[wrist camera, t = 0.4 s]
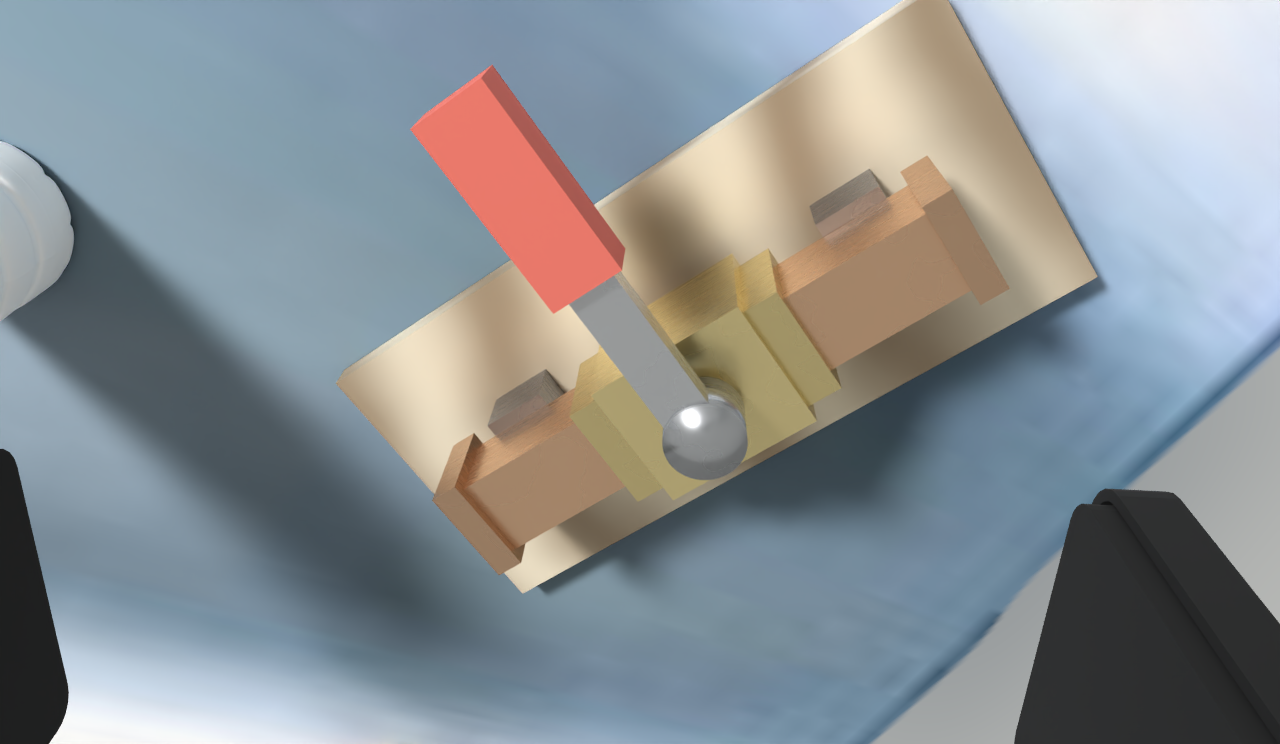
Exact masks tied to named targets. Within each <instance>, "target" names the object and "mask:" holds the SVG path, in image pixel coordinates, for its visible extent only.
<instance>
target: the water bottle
mask: <svg viewBox="0 0 1280 744" xmlns="http://www.w3.org/2000/svg"><path fill="white" fill-rule="evenodd" d="M70 222H71V215H70V211H69V208H68V205H67V203H66V201H65V198H64V196H63V195H62V193H61V191H60V189H59V188H58V186H57V185H56V183H55V182H54V181H53V180H52V179H51V178H50V177H48V176H46V175H45V174H44V171H43V169H42V167H41V166H40V165H39V164H38V163H37V162H36V161H35V160H33V159H32V158H31V157H30V156H28V155H27V154H25V153H24V152H22V151H21V150H19V149H18V148H16V147H14V146H12V145H10V144H8V143H6V142H2V141H0V321H2V320H3V319H5V318H6V317H7V316H8V315H10V314H11V313H12V312H13V311H14V310H16V309H18V308H20V307H22V306H23V305H25V304H26V303H28V302H29V301H31V300H32V299H34V298H35V297H36V296H38V295H39V294H40V293H42V292H43V291H45V290H46V289H47V288H49V287H50V286H51V285H52V284H54V283H55V282H56V281H57V280H58V279H59V277H60V276H61V275H62V272H63V271H64V269H65V268H66V266H67V265H68V263H69V261H70V258H71V255H72V250H73V244H74V231H73V228H72V226H71V225H70Z"/></svg>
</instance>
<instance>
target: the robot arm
mask: <svg viewBox="0 0 1280 744" xmlns="http://www.w3.org/2000/svg"><path fill="white" fill-rule="evenodd" d="M68 694H69V692H68V683H67V679H66V675H65V670H64V666H63V662H62V657H61V653H60V649H59V645H58V640H57V636H56V632H55V627H54V623H53V619H52V614H51V610H50V606H49V602H48V597H47V593H46V589H45V584H44V580H43V576H42V571H41V567H40V563H39V558H38V554H37V550H36V546H35V541H34V537H33V533H32V528H31V524H30V520H29V515H28V511H27V507H26V503H25V498H24V494H23V490H22V485H21V481H20V477H19V472H18V468H17V465H16V462H15V459H14V457H13V456H12V455H11V454H10V452H8V451H6V450H4V449H0V744H49V743H50V741H51V740H52V738H53V737H54V735H55V734H56V732H57V731H58V729H59V727H60V726H61V724H62V722H63V719H64V716H65V713H66V709H67V705H68ZM1014 744H1280V624H1279V622H1278V621H1277V620H1276V619H1275V617H1274V616H1273V615H1272V614H1271V613H1270V611H1269V610H1268V609H1267V607H1266V606H1265V605H1264V604H1263V602H1262V601H1261V600H1260V599H1259V598H1258V596H1257V595H1256V594H1255V592H1254V591H1253V590H1252V589H1251V587H1250V586H1249V585H1248V584H1247V582H1246V581H1245V580H1244V579H1243V577H1242V576H1241V575H1240V574H1239V572H1238V571H1237V570H1236V569H1235V567H1234V566H1233V565H1232V563H1231V562H1230V561H1229V560H1228V558H1227V557H1226V556H1225V555H1224V553H1223V552H1222V551H1221V550H1220V548H1219V547H1218V546H1217V545H1216V543H1215V542H1214V541H1213V540H1212V538H1211V537H1210V536H1209V535H1208V533H1207V532H1206V531H1205V530H1204V528H1203V527H1202V526H1201V525H1200V523H1199V522H1198V521H1197V519H1196V518H1195V517H1194V516H1193V515H1192V513H1191V512H1190V511H1189V509H1188V508H1187V507H1186V506H1185V504H1184V503H1183V502H1182V501H1181V499H1179V498H1178V497H1177V496H1176V495H1175V494H1174V493H1170V492H1160V491H1141V490H1140V491H1139V490H1122V489H1104V490H1102V491H1100V492H1099V493H1098V494H1097V496H1096V497H1095V499H1094V500H1093V503H1092V504H1081V505H1079V506H1077V507H1076V509H1075V510H1074V512H1073V514H1072V517H1071V520H1070V524H1069V528H1068V532H1067V536H1066V539H1065V543H1064V547H1063V551H1062V555H1061V559H1060V563H1059V567H1058V571H1057V574H1056V578H1055V582H1054V586H1053V590H1052V594H1051V598H1050V602H1049V606H1048V609H1047V613H1046V617H1045V621H1044V625H1043V629H1042V633H1041V637H1040V641H1039V645H1038V648H1037V652H1036V657H1035V660H1034V664H1033V668H1032V672H1031V676H1030V679H1029V683H1028V687H1027V691H1026V695H1025V699H1024V703H1023V707H1022V711H1021V714H1020V718H1019V722H1018V726H1017V730H1016V735H1015V742H1014Z"/></svg>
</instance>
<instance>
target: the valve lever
mask: <svg viewBox="0 0 1280 744" xmlns="http://www.w3.org/2000/svg"><path fill="white" fill-rule="evenodd" d="M410 130H411V131H412V132H413V133H414V135H415V136H416V137H417V139H418V140H419V141H420V142H421V144H422V145H423V146H424V148H425V149H426V150H427V152H428V153H429V154H430V155H431V157H432V158H433V159H434V161H435V162H436V163H437V164H438V166H439V167H440V168H441V170H442V171H443V172H444V173H445V175H446V176H447V177H448V179H449V180H450V181H451V183H452V184H453V185H454V186H455V188H456V189H457V190H458V192H459V193H460V194H461V195H462V197H463V198H464V199H465V201H466V202H467V203H468V204H469V206H470V207H471V208H472V210H473V211H474V212H475V214H476V215H477V216H478V217H479V219H480V220H481V221H482V223H483V224H484V225H485V226H486V228H487V229H488V230H489V232H490V233H491V234H492V235H493V237H494V238H495V239H496V241H497V242H498V243H499V245H500V246H501V247H502V248H503V250H504V251H505V252H506V254H507V255H508V256H509V257H510V259H511V260H512V261H513V263H514V264H515V265H516V266H517V268H518V269H519V270H520V272H521V273H522V274H523V276H524V277H525V278H526V279H527V281H528V282H529V283H530V285H531V286H532V287H533V288H534V290H535V291H536V292H537V294H538V295H539V296H540V297H541V299H542V300H543V301H544V303H545V304H546V305H547V307H548V308H549V309H550V310H551V312H552V313H553V314H554V313H556V312H557V311H559V310H561V309H562V308H564V307H565V306H567V305H568V304H569V305H570V307H571V308H572V309H573V310H574V312H575V313H576V314H577V316H578V317H579V318H580V320H581V321H582V322H583V324H584V325H585V326H586V327H587V329H588V330H589V331H590V333H591V334H592V335H593V337H594V338H595V339H596V341H597V342H598V343H599V344H600V346H601V347H602V348H603V350H604V351H605V352H606V354H607V355H608V356H609V358H610V359H611V360H612V361H613V363H614V364H615V365H616V367H617V368H618V369H619V371H620V372H621V373H622V375H623V376H624V377H625V378H626V380H627V381H628V382H629V384H630V385H631V386H632V388H633V389H634V390H635V392H636V393H637V394H638V395H639V397H640V398H641V399H642V401H643V402H644V403H645V405H646V406H647V407H648V409H649V410H650V411H651V412H652V414H653V415H654V416H655V418H656V419H657V420H658V422H659V423H660V424H661V426H662V427H663V437H662V447H663V452H664V455H665V457H666V459H667V461H668V462H669V464H670V465H671V466H672V467H673V468H674V469H675V470H676V471H677V472H679V473H680V474H682V475H684V476H686V477H689V478H692V479H697V480H713V479H717V478H721V477H723V476H725V475H728V474H729V473H731V472H732V471H734V470H735V469H736V468H737V467H738V466H739V465H740V464H741V462H742V461H743V459H744V457H745V455H746V452H747V447H748V439H747V429H746V419H745V409H744V403H743V400H742V398H741V396H740V395H739V393H738V392H737V390H736V389H735V388H734V387H733V386H731V385H730V384H729V383H727V382H725V381H723V380H721V379H718V378H714V377H708V376H701V377H698V376H697V374H696V373H695V372H694V370H693V369H692V368H691V366H690V365H689V363H688V362H687V361H686V359H685V358H684V357H683V355H682V354H681V353H680V351H679V350H678V348H677V347H676V346H675V344H674V343H673V342H672V340H671V339H670V338H669V336H668V335H667V333H666V332H665V331H664V329H663V328H662V327H661V325H660V324H659V323H658V321H657V320H656V318H655V317H654V316H653V314H652V313H651V312H650V310H649V309H648V308H647V306H646V305H645V303H644V302H643V301H642V299H641V298H640V297H639V295H638V294H637V293H636V291H635V290H634V288H633V287H632V286H631V284H630V283H629V282H628V280H627V279H626V278H625V276H624V275H623V273H622V272H621V271H622V267H623V261H624V254H625V247H624V246H623V245H622V243H621V242H620V240H619V239H618V238H617V236H616V235H615V233H614V232H613V231H612V229H611V228H610V227H609V225H608V224H607V222H606V221H605V220H604V218H603V217H602V216H601V214H600V213H599V211H598V210H597V209H596V207H595V206H594V205H593V203H592V202H591V200H590V199H589V198H588V196H587V195H586V193H585V192H584V191H583V189H582V188H581V187H580V185H579V184H578V182H577V181H576V180H575V178H574V177H573V176H572V174H571V173H570V171H569V170H568V169H567V167H566V166H565V165H564V163H563V162H562V160H561V159H560V158H559V156H558V155H557V153H556V152H555V151H554V149H553V148H552V147H551V145H550V144H549V142H548V141H547V140H546V138H545V137H544V136H543V134H542V133H541V131H540V130H539V129H538V127H537V126H536V125H535V123H534V122H533V120H532V119H531V118H530V116H529V115H528V113H527V112H526V111H525V109H524V108H523V107H522V105H521V104H520V102H519V101H518V100H517V98H516V97H515V96H514V94H513V93H512V91H511V90H510V89H509V87H508V86H507V84H506V83H505V82H504V80H503V79H502V78H501V76H500V75H499V73H498V72H497V71H496V69H495V68H494V67H493V65H491V66H490V67H488V68H487V69H486V70H484V71H483V72H482V73H480V74H479V75H477V76H476V77H475V78H473V79H472V80H471V81H469V82H468V83H466V84H465V85H464V86H462V87H461V88H460V89H458V90H457V91H456V92H454V93H453V94H451V95H450V96H449V97H447V98H446V99H445V100H443V101H442V102H440V103H439V104H438V105H436V106H435V107H434V108H432V109H431V110H430V111H428V112H427V113H425V114H424V115H423V116H422V117H421V119H420V120H419V121H418V122H417V123H416V124H415V125H414V126H413V127H412V128H411V129H410Z"/></svg>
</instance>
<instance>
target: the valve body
mask: <svg viewBox="0 0 1280 744" xmlns="http://www.w3.org/2000/svg"><path fill="white" fill-rule="evenodd" d="M900 173H901V174H902V176H903V178H904V179H905V181H906V183H907V184H908V186H906V187H904V188H903V189H901V190H899V191H898V192H896V193H894V194H893V195H891V196H889V197H888V198H887V197H886V195H885V193H884V192H883V190H882V188H881V187H880V185H879V183H878V182H877V180H876V179H875V177H874V175H873V174H872V172H871V170H870V169H868V170H866V171H865V172H863V173H861V174H860V175H858V176H857V177H855V178H853V179H852V180H850V181H849V182H847V183H845V184H844V185H842V186H840V187H839V188H837V189H836V190H834V191H832V192H831V193H829V194H828V195H826V196H824V197H823V198H821V199H819V200H818V201H816V202H815V203H813V204H811V205H810V206H809V207H810V210H811V213H812V216H813V219H814V222H815V225H816V227H817V228H818V230H819V231H820V233H821V234H822V236H823V237H822V238H820V239H819V240H817V241H815V242H814V243H812V244H810V245H809V246H807V247H805V248H804V249H802V250H801V251H799V252H797V253H796V254H794V255H792V256H791V257H789V258H787V259H786V260H784V261H782V262H781V263H778V262H777V260H776V259H775V257H774V256H773V254H772V253H771V251H770V250H769V248H768V249H766V250H765V251H763V252H761V253H760V254H758V255H756V256H755V257H753V258H752V259H750V260H748V261H747V262H745V263H743V264H742V265H740V264H739V263H738V261H737V260H736V258H735V257H734V255H733V254H730V255H729V256H727V257H725V258H724V259H722V260H721V261H719V262H717V263H716V264H714V265H712V266H711V267H709V268H708V269H706V270H704V271H703V272H701V273H700V274H698V275H696V276H695V277H693V278H691V279H690V280H688V281H687V282H685V283H683V284H682V285H680V286H679V287H677V288H675V289H674V290H672V291H670V292H669V293H667V294H666V295H664V296H662V297H661V298H659V299H658V300H656V301H654V302H653V303H651V304H649V305H648V306H647V308H648V309H649V310H650V312H651V313H652V314H653V316H654V317H655V318H656V320H657V321H658V323H659V324H660V325H661V327H662V328H663V329H664V331H665V332H666V333H667V335H668V336H669V338H670V339H671V340H672V342H673V343H674V344H675V346H676V347H677V348H678V350H679V351H680V353H681V354H682V355H683V357H684V358H685V359H686V361H687V362H688V363H689V365H690V366H691V368H692V369H693V370H694V372H695V373H696V374H697V376H698V377H701V376H708V377H714V378H718V379H721V380H723V381H725V382H727V383H729V384H730V385H731V386H733V387H734V388H735V389H736V390H737V392H738V393H739V395H740V396H741V398H742V400H743V403H744V409H745V419H746V429H747V439H748V447H747V452H746V455H745V457H744V459H743V461H742V462H744V461H745V460H747V459H749V458H751V457H753V456H755V455H756V454H758V453H760V452H762V451H764V450H765V449H767V448H769V447H771V446H773V445H774V444H776V443H778V442H780V441H782V440H783V439H785V438H787V437H789V436H791V435H792V434H794V433H796V432H798V431H800V430H801V429H803V428H805V427H807V426H809V425H810V424H812V423H814V422H816V421H817V419H816V414H815V409H814V405H813V404H814V403H816V402H817V401H819V400H821V399H823V398H825V397H826V396H828V395H830V394H832V393H834V392H835V391H837V390H839V389H841V388H842V387H841V384H840V380H839V377H838V373H837V369H836V367H837V366H839V365H841V364H843V363H844V362H846V361H848V360H850V359H851V358H853V357H855V356H857V355H859V354H860V353H862V352H864V351H866V350H867V349H869V348H871V347H873V346H874V345H876V344H878V343H880V342H881V341H883V340H885V339H887V338H889V337H890V336H892V335H894V334H896V333H897V332H899V331H901V330H903V329H904V328H906V327H908V326H910V325H911V324H913V323H915V322H917V321H919V320H920V319H922V318H924V317H926V316H927V315H929V314H931V313H933V312H934V311H936V310H938V309H940V308H941V307H943V306H945V305H947V304H949V303H950V302H952V301H954V300H956V299H957V298H959V297H961V296H963V295H964V294H966V293H968V292H970V291H972V292H973V294H974V296H975V297H976V299H977V300H978V302H979V304H980V305H982V304H984V303H985V302H987V301H989V300H991V299H993V298H994V297H996V296H998V295H1000V294H1001V293H1003V292H1005V291H1007V290H1009V289H1010V288H1009V286H1008V284H1007V282H1006V281H1005V279H1004V277H1003V275H1002V274H1001V272H1000V270H999V269H998V267H997V265H996V263H995V262H994V260H993V258H992V257H991V255H990V253H989V251H988V250H987V248H986V246H985V244H984V243H983V241H982V239H981V238H980V236H979V234H978V232H977V231H976V229H975V227H974V225H973V224H972V222H971V220H970V219H969V217H968V215H967V213H966V212H965V210H964V208H963V206H962V205H961V203H960V201H959V200H958V198H957V196H956V194H955V193H954V191H953V189H952V188H951V187H950V185H949V184H948V182H947V181H946V180H945V178H944V177H943V176H942V174H941V173H940V172H939V170H938V169H937V168H936V166H935V165H934V164H933V162H932V161H931V160H930V158H929V157H928V156H925V157H924V158H922V159H920V160H919V161H917V162H915V163H914V164H912V165H910V166H909V167H907V168H906V169H904V170H902V171H901V172H900ZM487 426H488V427H489V428H490V430H491V431H492V432H493V433H494V434H495V436H494V437H493V438H491V439H489V440H488V441H486V442H484V443H482V442H481V440H480V439H479V438H478V437H477V436H476V435H475V433H473V434H471V435H470V436H468V437H466V438H465V439H463V440H462V441H460V442H458V443H457V444H455V445H453V448H452V451H451V453H450V456H449V458H448V461H447V464H446V466H445V469H444V471H443V474H442V477H441V479H440V482H439V484H438V487H437V489H436V492H435V495H434V497H433V500H432V501H433V502H434V503H435V504H436V505H437V506H438V507H439V509H440V510H441V511H442V512H443V513H444V514H445V515H446V516H447V517H448V519H449V520H450V521H451V522H452V523H453V524H454V525H455V526H456V528H457V529H458V530H459V531H460V532H461V533H462V534H463V535H464V537H465V538H466V539H467V540H468V541H469V542H470V543H471V544H472V545H473V547H474V548H475V549H476V550H477V551H478V552H479V553H480V554H481V556H482V557H483V558H484V559H485V560H486V561H487V562H488V563H489V565H490V566H491V567H492V568H493V569H494V570H495V571H496V572H497V574H498V575H501V574H502V573H504V572H506V571H508V570H509V569H511V568H513V567H515V566H517V565H518V564H520V563H521V561H522V557H523V553H524V548H525V544H526V543H527V542H528V541H530V540H532V539H534V538H536V537H537V536H539V535H541V534H543V533H544V532H546V531H548V530H550V529H551V528H553V527H555V526H557V525H558V524H560V523H562V522H564V521H566V520H567V519H569V518H571V517H573V516H574V515H576V514H578V513H580V512H581V511H583V510H585V509H587V508H588V507H590V506H592V505H594V504H596V503H597V502H599V501H601V500H603V499H604V498H606V497H608V496H610V495H611V494H613V493H615V492H617V491H618V490H620V489H622V488H624V487H626V488H627V489H628V490H629V492H630V493H631V494H632V495H633V497H634V498H635V499H636V500H637V502H639V501H640V500H642V499H644V498H646V497H648V496H649V495H651V494H653V493H655V492H657V491H658V490H660V489H662V488H664V489H665V491H666V492H667V493H668V494H669V496H670V497H671V498H672V500H675V499H677V498H679V497H680V496H682V495H684V494H686V493H688V492H690V491H691V490H693V489H695V488H697V487H699V486H700V485H702V484H704V483H706V482H708V481H709V480H697V479H692V478H689V477H686V476H684V475H682V474H680V473H679V472H677V471H676V470H675V469H674V468H673V467H672V466H671V465H670V464H669V462H668V461H667V459H666V457H665V455H664V452H663V447H662V437H663V427H662V426H661V424H660V423H659V422H658V420H657V419H656V418H655V416H654V415H653V414H652V412H651V411H650V410H649V409H648V407H647V406H646V405H645V403H644V402H643V401H642V399H641V398H640V397H639V395H638V394H637V393H636V392H635V390H634V389H633V388H632V386H631V385H630V384H629V382H628V381H627V380H626V378H625V377H624V376H623V375H622V373H621V372H620V371H619V369H618V368H617V367H616V365H615V364H614V363H613V361H612V360H611V359H610V358H609V356H608V355H607V354H606V352H605V351H604V350H603V348H602V347H601V346H600V345H599V351H598V353H597V354H595V355H594V356H592V357H590V358H589V359H587V360H585V361H584V362H582V363H581V364H580V367H579V372H578V376H577V381H576V386H575V388H573V389H572V390H570V391H568V392H567V393H565V392H564V391H563V390H562V389H561V387H560V386H559V385H558V384H557V382H556V381H555V380H554V379H553V377H552V376H551V375H550V374H549V372H548V371H547V370H546V369H545V370H543V371H542V372H540V373H538V374H537V375H535V376H534V377H532V378H530V379H529V380H527V381H525V382H524V383H522V384H521V385H519V386H517V387H516V388H514V389H513V390H511V391H509V392H508V393H506V394H504V395H503V396H501V397H500V398H498V399H496V402H495V405H494V408H493V411H492V414H491V417H490V420H489V422H488V425H487ZM742 462H741V463H742Z"/></svg>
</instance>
